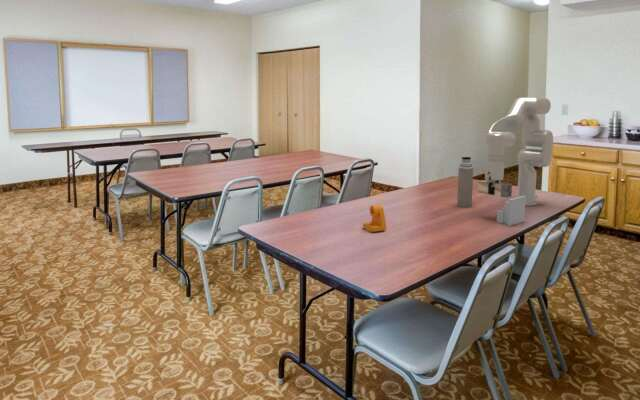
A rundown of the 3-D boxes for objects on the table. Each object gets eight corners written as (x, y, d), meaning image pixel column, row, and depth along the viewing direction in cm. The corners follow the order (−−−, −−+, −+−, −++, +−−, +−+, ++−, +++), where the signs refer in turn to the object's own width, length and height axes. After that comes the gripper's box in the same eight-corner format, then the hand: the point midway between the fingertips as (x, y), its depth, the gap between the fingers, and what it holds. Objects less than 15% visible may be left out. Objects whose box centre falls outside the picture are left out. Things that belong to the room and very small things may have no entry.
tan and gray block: (482, 191, 262) (483, 179, 261) (511, 196, 249) (512, 184, 248) (477, 192, 259) (478, 180, 258) (506, 197, 247) (506, 185, 245)
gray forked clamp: (494, 222, 249) (495, 197, 246) (509, 218, 257) (510, 193, 254) (509, 226, 243) (511, 199, 240) (524, 221, 251) (525, 196, 248)
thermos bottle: (470, 204, 289) (473, 156, 283) (472, 207, 281) (474, 158, 275) (456, 204, 291) (458, 156, 285) (457, 207, 283) (459, 158, 277)
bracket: (362, 228, 245) (362, 204, 242) (375, 226, 247) (375, 202, 245) (372, 233, 235) (373, 208, 232) (386, 231, 238) (386, 207, 235)
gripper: (498, 155, 259) (496, 190, 262) (479, 158, 249) (477, 194, 253) (512, 157, 253) (509, 192, 257) (492, 160, 243) (490, 197, 247)
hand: (493, 193), depth 255 cm, fingers closed on tan and gray block, 4 cm apart
